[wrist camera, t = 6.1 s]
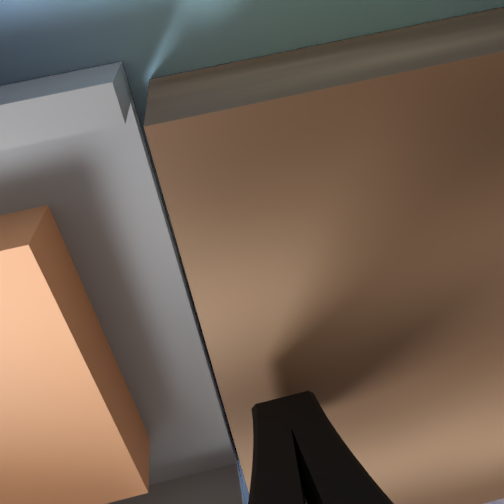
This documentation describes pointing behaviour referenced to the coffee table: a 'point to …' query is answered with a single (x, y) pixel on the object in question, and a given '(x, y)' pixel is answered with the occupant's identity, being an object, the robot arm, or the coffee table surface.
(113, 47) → the coffee table surface
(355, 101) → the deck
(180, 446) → the tray
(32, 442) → the tan rectangular block
